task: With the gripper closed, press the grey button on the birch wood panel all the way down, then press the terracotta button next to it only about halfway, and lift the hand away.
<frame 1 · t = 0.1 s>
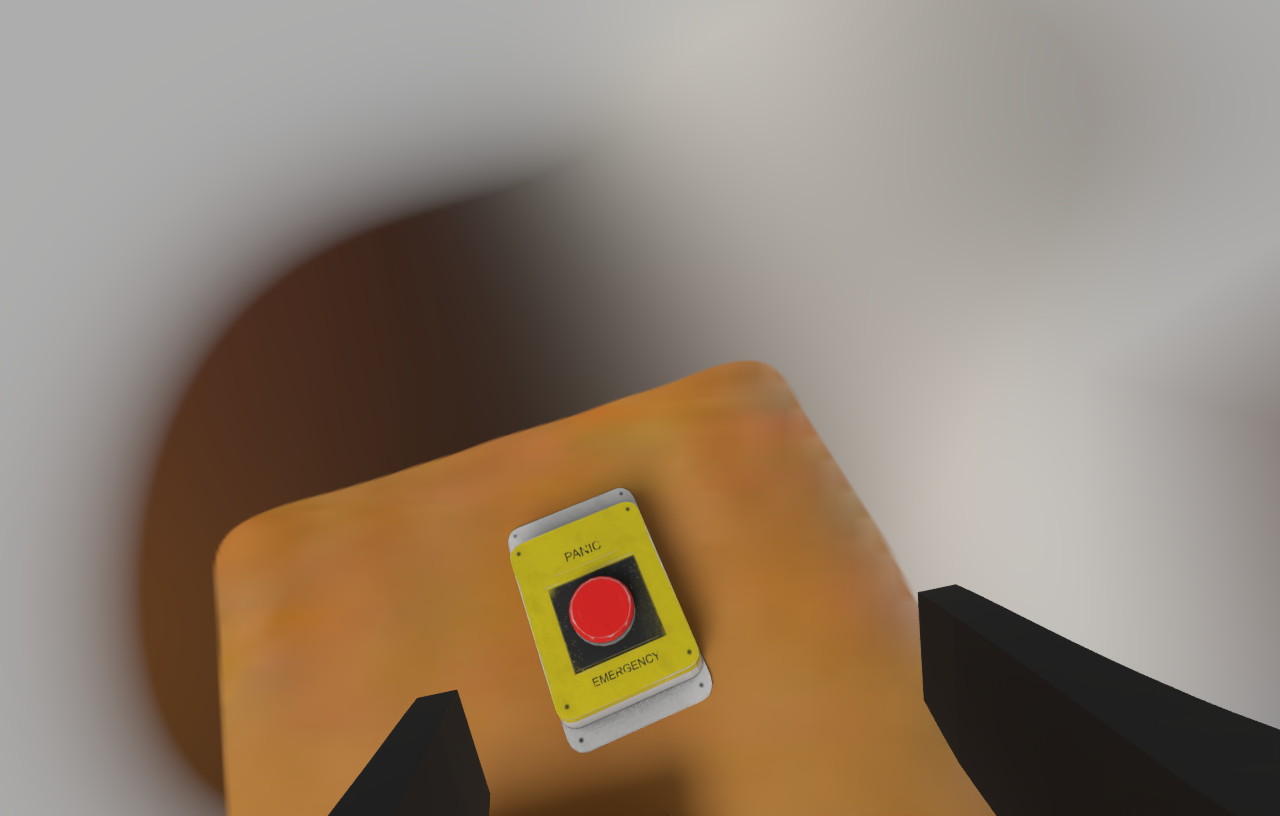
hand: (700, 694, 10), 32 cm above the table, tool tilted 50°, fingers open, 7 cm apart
emergency button: (604, 610, 43), on the table
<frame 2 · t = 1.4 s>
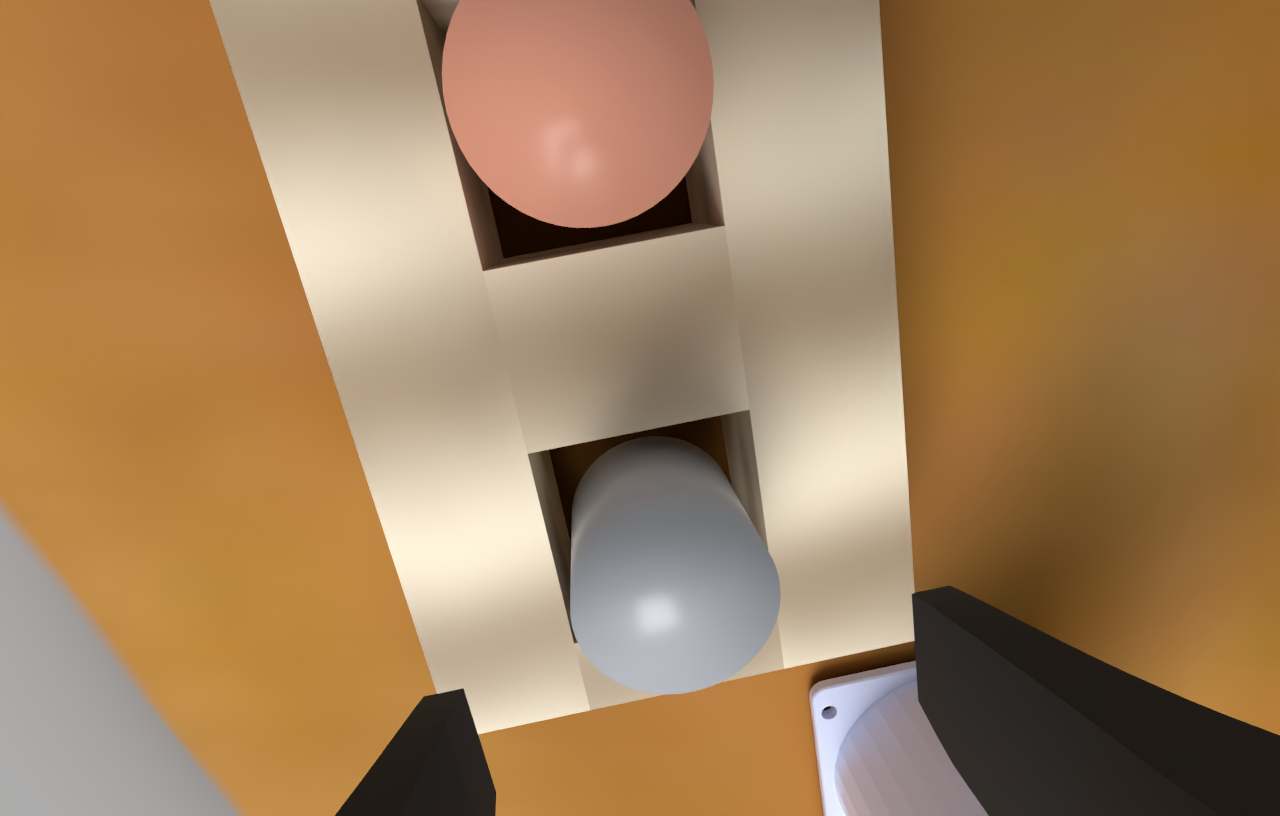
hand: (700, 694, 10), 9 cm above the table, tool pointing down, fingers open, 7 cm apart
terracotta button: (579, 108, 12), point 5 cm above the table, slide at 0.0 cm
button panel: (612, 315, 18), on the table
grey button: (663, 552, 14), point 5 cm above the table, slide at 0.0 cm
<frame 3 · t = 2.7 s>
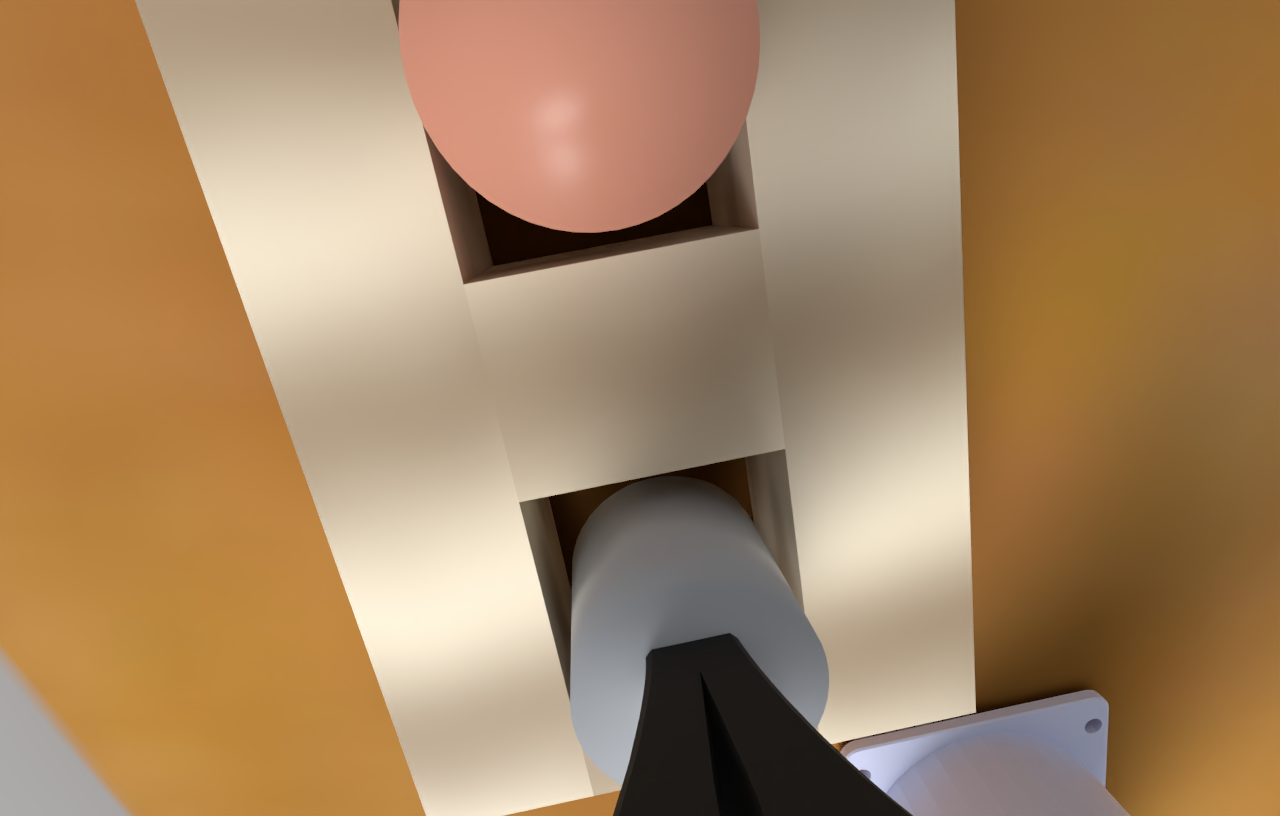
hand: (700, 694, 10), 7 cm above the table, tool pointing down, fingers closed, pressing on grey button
terracotta button: (582, 81, 9), point 5 cm above the table, slide at 0.0 cm
button panel: (619, 332, 15), on the table
grey button: (681, 620, 12), point 5 cm above the table, slide at 0.1 cm, touching gripper
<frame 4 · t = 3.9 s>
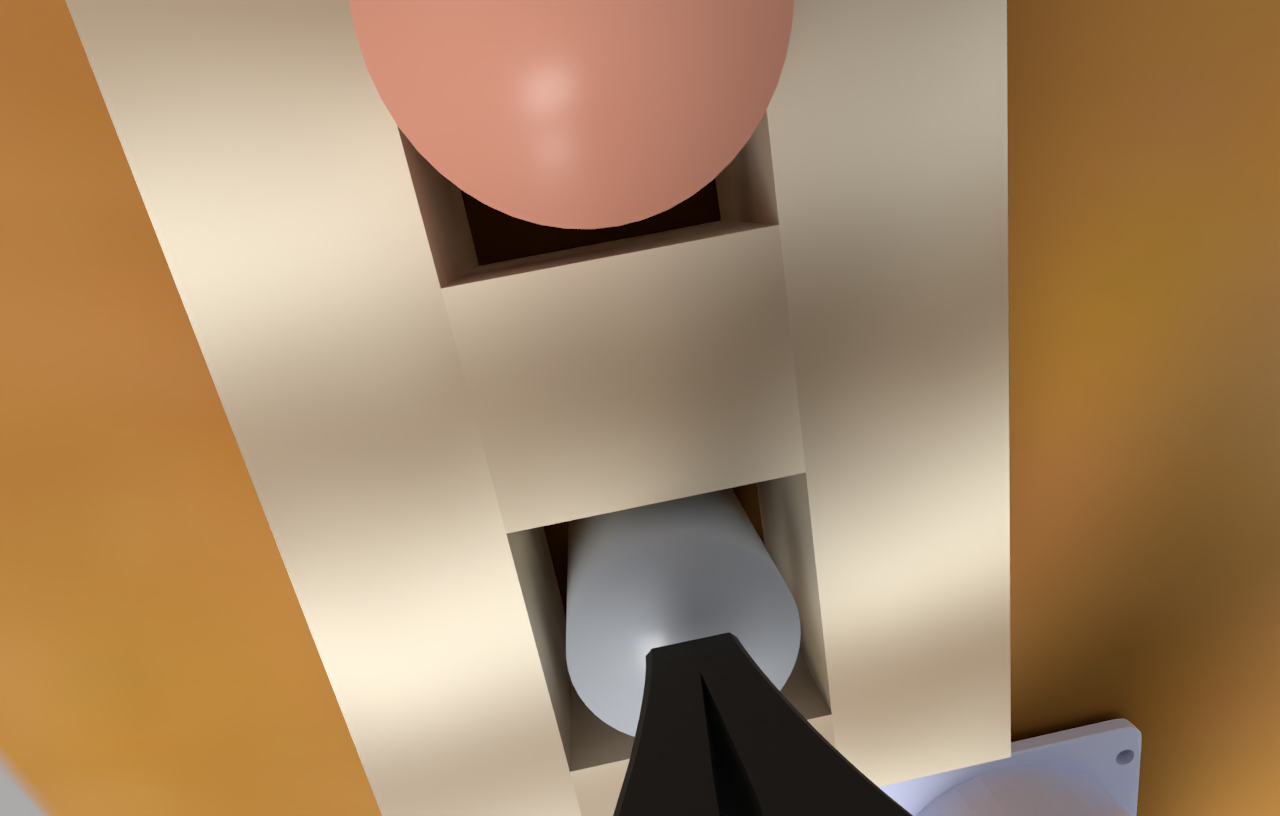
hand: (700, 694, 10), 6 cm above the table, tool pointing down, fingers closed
terracotta button: (577, 50, 8), point 5 cm above the table, slide at 0.0 cm
button panel: (619, 338, 14), on the table
grey button: (668, 582, 13), point 2 cm above the table, slide at 2.6 cm
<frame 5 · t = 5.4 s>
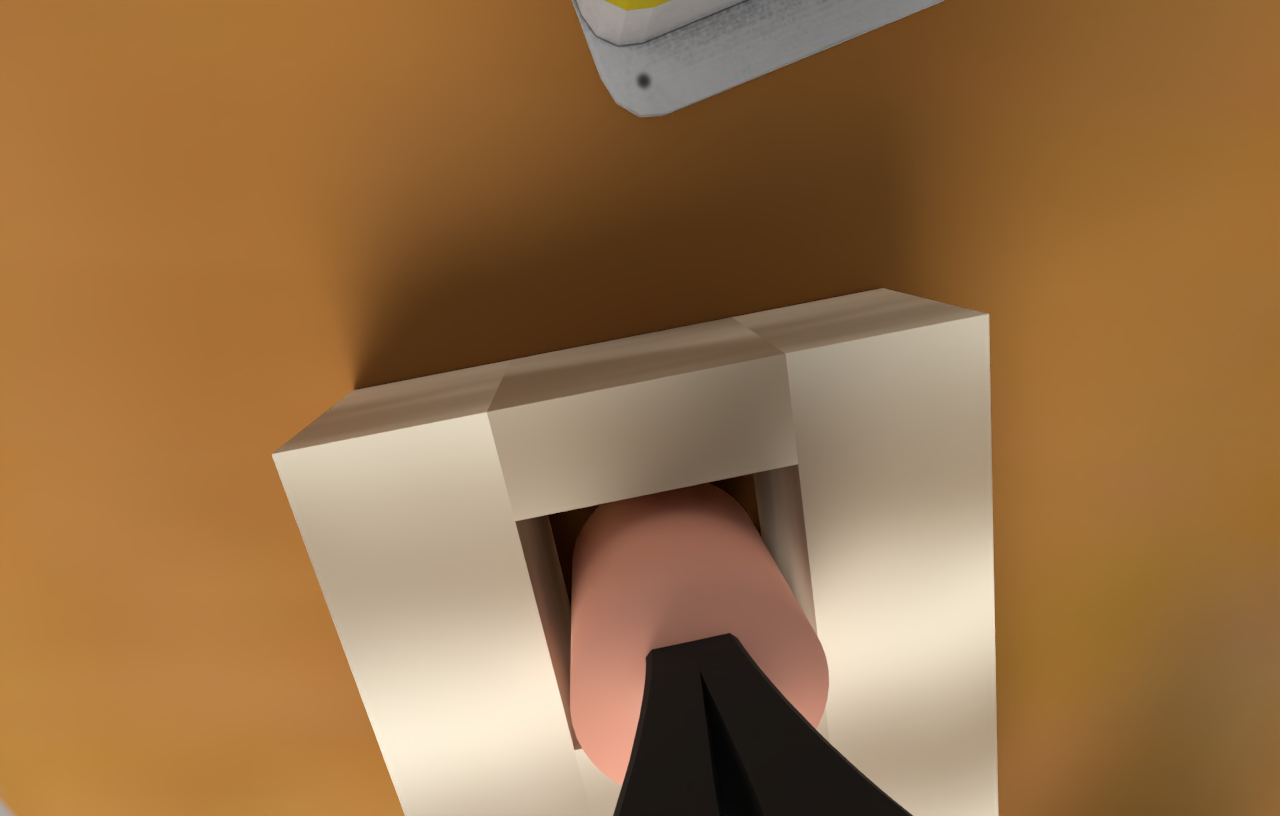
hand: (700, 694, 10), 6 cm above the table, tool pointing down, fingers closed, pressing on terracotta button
terracotta button: (681, 620, 12), point 4 cm above the table, slide at 0.8 cm, touching gripper
button panel: (684, 671, 17), on the table
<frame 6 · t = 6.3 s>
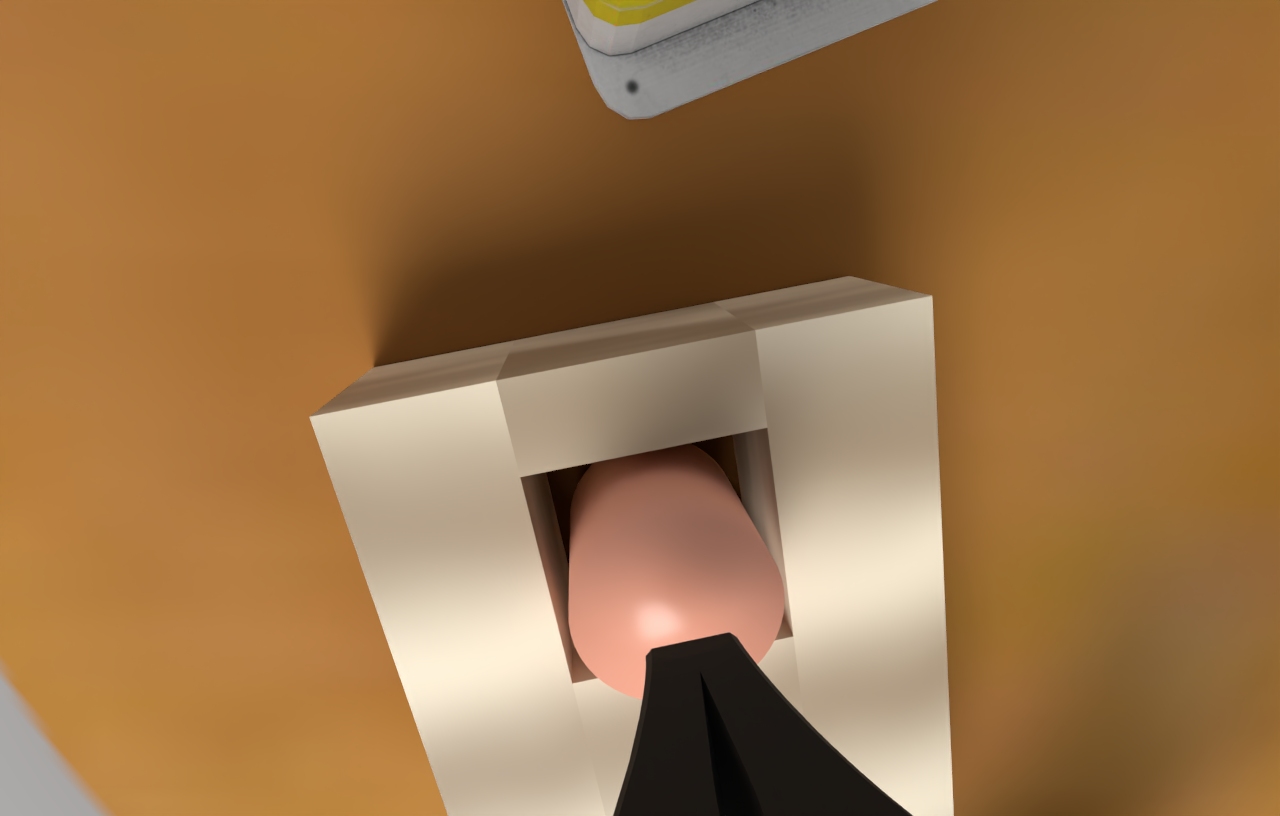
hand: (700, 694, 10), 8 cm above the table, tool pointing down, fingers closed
terracotta button: (664, 557, 14), point 4 cm above the table, slide at 1.2 cm
button panel: (672, 626, 19), on the table
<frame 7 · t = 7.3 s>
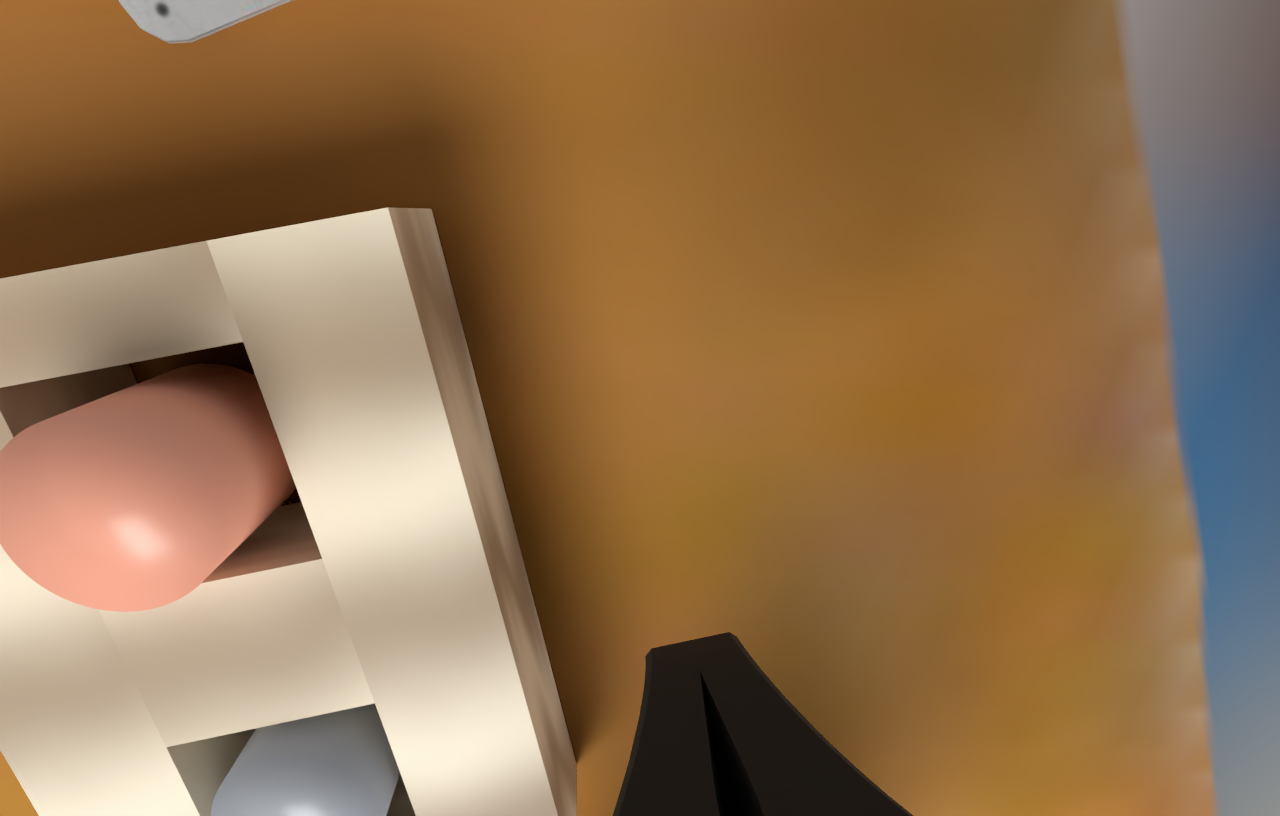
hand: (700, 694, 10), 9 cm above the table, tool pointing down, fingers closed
terracotta button: (171, 475, 14), point 4 cm above the table, slide at 1.2 cm
button panel: (309, 567, 19), on the table
grey button: (327, 755, 18), point 2 cm above the table, slide at 2.6 cm
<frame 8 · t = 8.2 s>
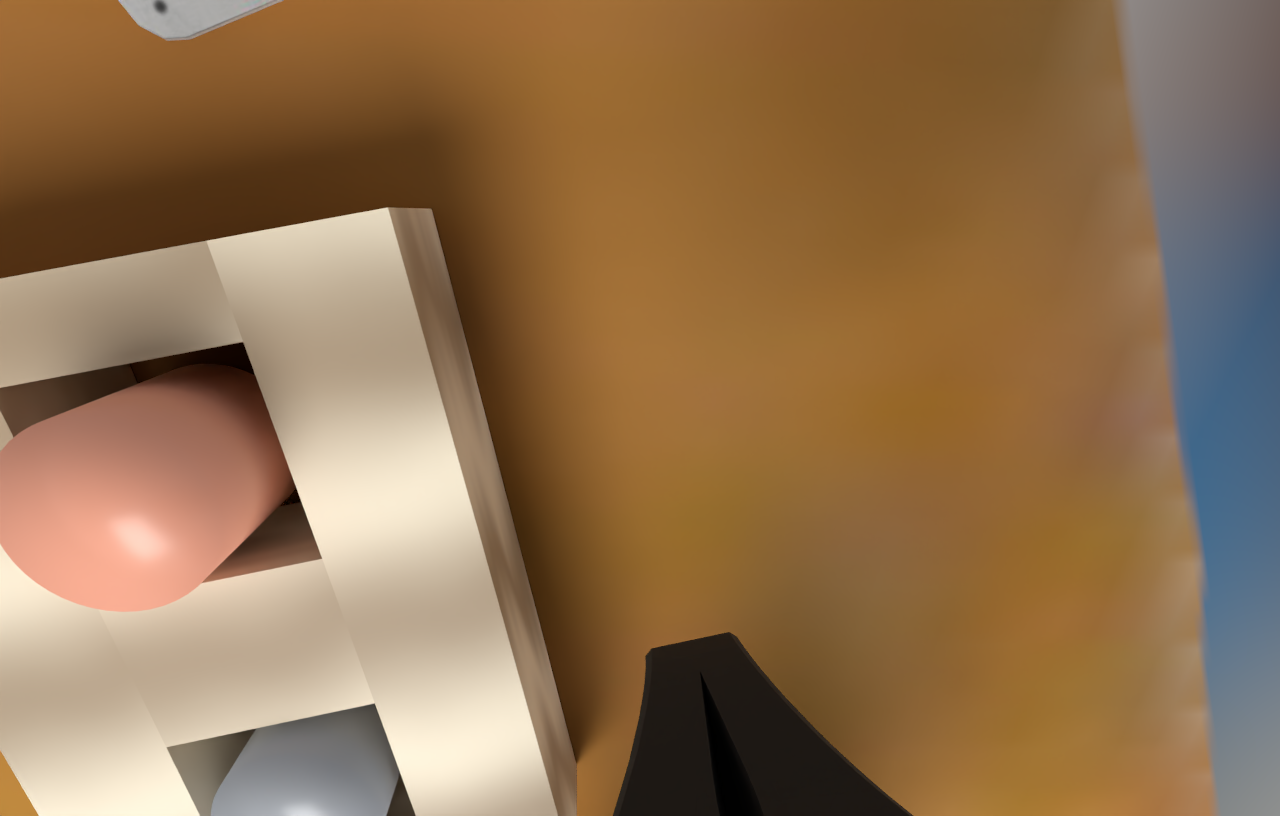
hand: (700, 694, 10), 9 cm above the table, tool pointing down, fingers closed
terracotta button: (171, 475, 14), point 4 cm above the table, slide at 1.2 cm
button panel: (309, 567, 19), on the table
grey button: (327, 755, 18), point 2 cm above the table, slide at 2.6 cm
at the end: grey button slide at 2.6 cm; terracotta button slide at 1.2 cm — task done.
